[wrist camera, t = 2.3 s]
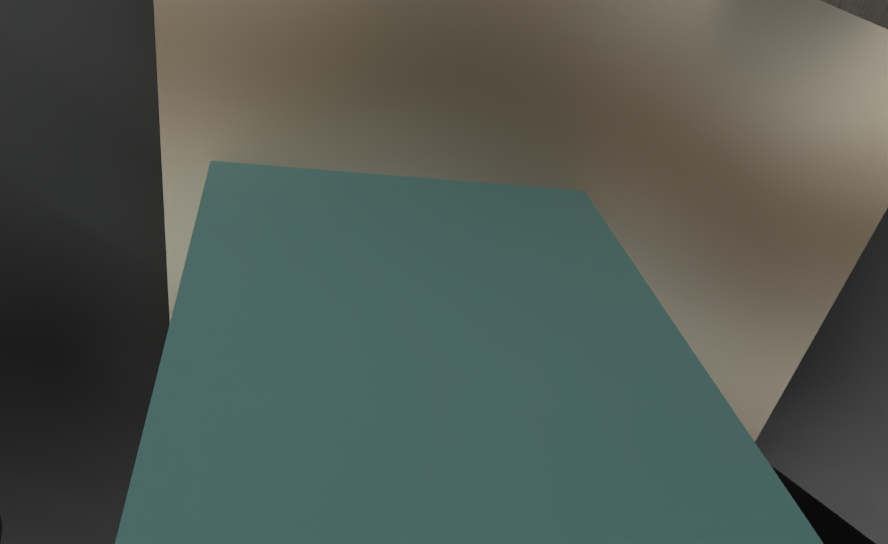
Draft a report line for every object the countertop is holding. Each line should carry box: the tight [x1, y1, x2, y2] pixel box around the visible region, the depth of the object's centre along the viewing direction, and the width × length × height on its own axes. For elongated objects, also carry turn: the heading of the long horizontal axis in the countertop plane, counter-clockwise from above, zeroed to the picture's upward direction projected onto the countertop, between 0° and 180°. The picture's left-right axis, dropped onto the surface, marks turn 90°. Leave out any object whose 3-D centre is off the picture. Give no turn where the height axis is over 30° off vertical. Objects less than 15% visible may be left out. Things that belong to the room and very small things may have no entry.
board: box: [153, 0, 888, 442], centre depth 10 cm, size 13×11×1 cm
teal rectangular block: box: [115, 161, 823, 544], centre depth 9 cm, size 5×5×7 cm
